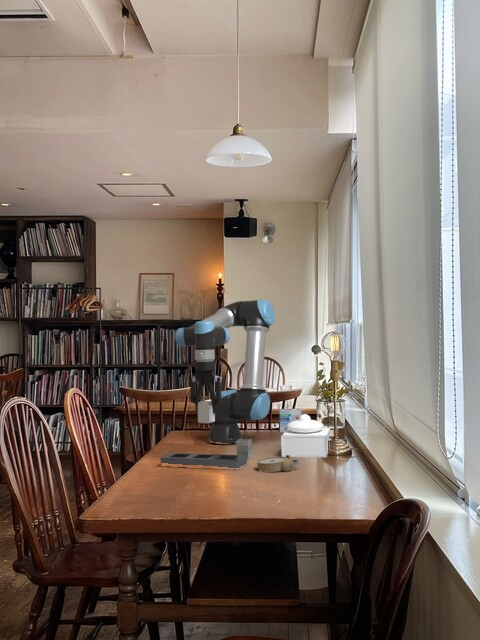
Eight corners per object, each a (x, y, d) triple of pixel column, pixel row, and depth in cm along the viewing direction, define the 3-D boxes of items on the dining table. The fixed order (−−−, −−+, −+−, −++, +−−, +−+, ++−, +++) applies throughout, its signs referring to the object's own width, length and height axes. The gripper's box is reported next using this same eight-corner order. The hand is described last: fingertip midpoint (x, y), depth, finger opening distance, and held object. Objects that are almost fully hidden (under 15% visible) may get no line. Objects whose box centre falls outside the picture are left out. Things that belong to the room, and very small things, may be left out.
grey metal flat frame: (172, 461, 242) (171, 452, 242) (247, 464, 232) (246, 455, 232) (160, 466, 233) (160, 457, 233) (238, 470, 223) (237, 460, 223)
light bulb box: (279, 432, 301) (278, 410, 301) (281, 430, 308) (280, 408, 308) (301, 432, 299) (301, 410, 300) (302, 430, 306) (302, 408, 306)
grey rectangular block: (203, 421, 243) (202, 400, 243) (213, 421, 241) (213, 401, 242) (198, 422, 239) (198, 401, 239) (209, 423, 237) (208, 402, 238)
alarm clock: (258, 458, 230) (298, 450, 227) (261, 471, 230) (301, 464, 227) (253, 464, 219) (295, 457, 216) (256, 478, 219) (298, 471, 216)
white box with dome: (287, 448, 261) (286, 410, 261) (330, 449, 257) (329, 410, 257) (281, 457, 244) (280, 416, 244) (327, 458, 240) (326, 416, 240)
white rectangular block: (241, 459, 243) (240, 438, 243) (252, 459, 241) (251, 438, 241) (237, 461, 238) (236, 440, 239) (248, 462, 237) (247, 440, 237)
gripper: (180, 361, 241) (181, 422, 240) (222, 360, 235) (223, 423, 234) (188, 360, 248) (189, 419, 247) (229, 360, 242) (231, 420, 241)
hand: (206, 421), depth 240 cm, fingers closed on grey rectangular block, 4 cm apart
